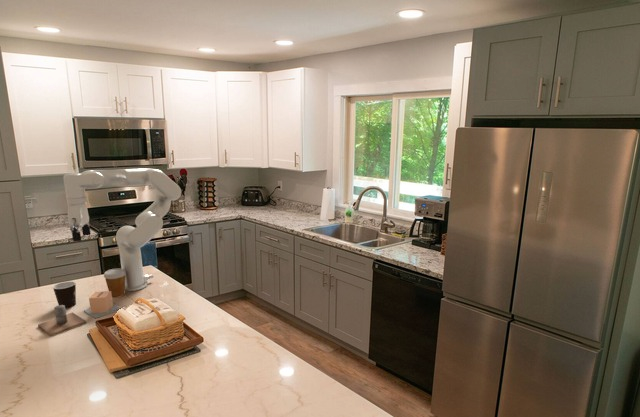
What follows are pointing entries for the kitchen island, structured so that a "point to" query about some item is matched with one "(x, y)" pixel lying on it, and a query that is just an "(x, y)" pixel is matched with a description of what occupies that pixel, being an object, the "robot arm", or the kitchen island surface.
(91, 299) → the coin bank
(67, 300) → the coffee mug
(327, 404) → the kitchen island surface
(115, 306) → the mat
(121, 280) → the disposable coffee cup
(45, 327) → the post base
